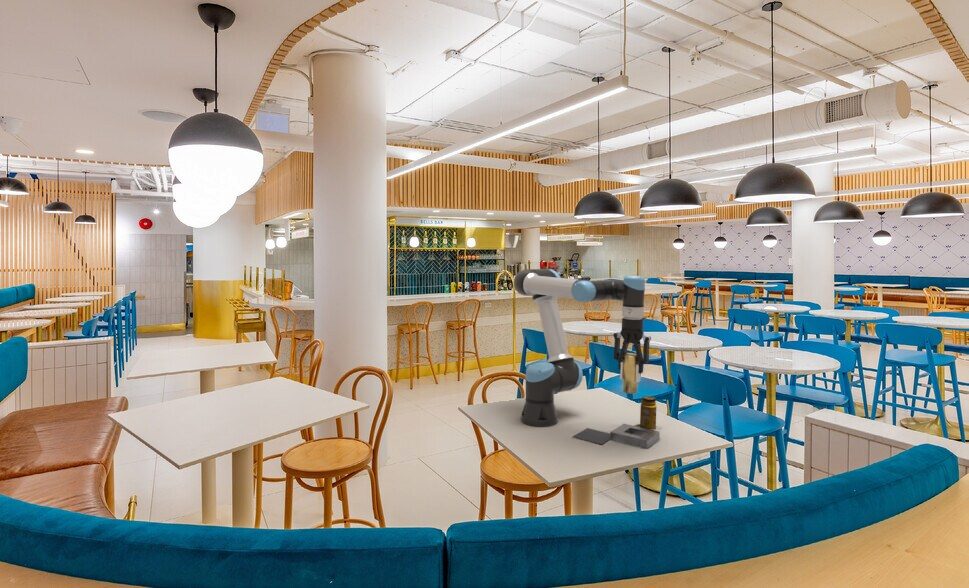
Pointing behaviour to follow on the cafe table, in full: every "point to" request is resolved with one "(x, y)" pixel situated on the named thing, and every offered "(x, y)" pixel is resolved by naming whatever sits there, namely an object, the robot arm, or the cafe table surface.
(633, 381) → the gold rounded cylinder
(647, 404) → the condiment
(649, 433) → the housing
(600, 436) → the mat
